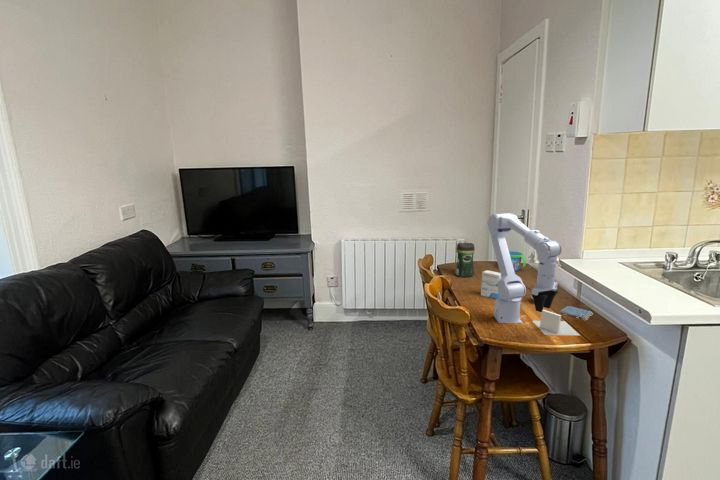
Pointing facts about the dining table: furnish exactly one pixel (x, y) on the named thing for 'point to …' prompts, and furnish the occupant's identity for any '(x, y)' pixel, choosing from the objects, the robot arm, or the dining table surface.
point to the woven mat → (577, 312)
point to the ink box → (490, 284)
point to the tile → (550, 321)
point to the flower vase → (535, 260)
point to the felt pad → (564, 329)
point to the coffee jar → (465, 259)
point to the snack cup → (517, 259)
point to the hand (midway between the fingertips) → (542, 309)
